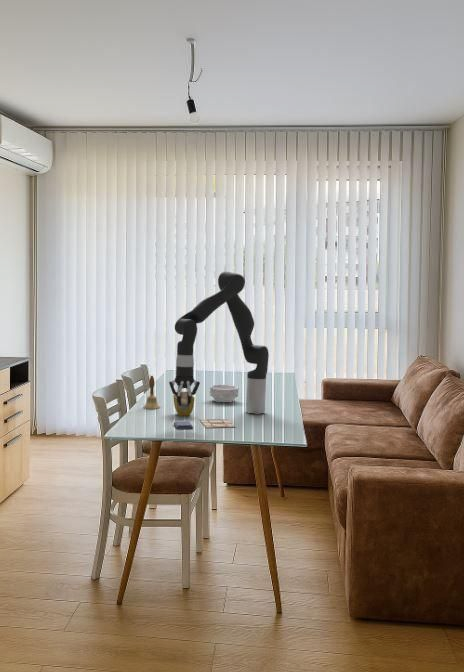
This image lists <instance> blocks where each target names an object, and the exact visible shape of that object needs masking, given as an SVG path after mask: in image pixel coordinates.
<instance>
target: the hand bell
mask: <svg viewBox="0 0 464 672" xmlns="http://www.w3.org/2000/svg"><path fill="white" fill-rule="evenodd" d="M149 377H150V378H149V381H148V383H149V388H150V390H149V393H150V395H149V396H147V399H146V403H145V404H144V405H143V409H145V408H146V410H159V409H161V406H160V405H159V403H158V401H157V396H155V395H154V394H155V393H154V387H155V377H154V375H150V376H149Z"/></svg>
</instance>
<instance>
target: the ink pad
mask: <svg viewBox="0 0 464 672" xmlns="http://www.w3.org/2000/svg"><path fill="white" fill-rule="evenodd" d="M173 425H174V427H175V429H176V430H193V429H194V426H193V425H192V423H191V421H188V420H187V421H186V420H185V421H183V420H179V421H176V420H175V421H174V422H173Z"/></svg>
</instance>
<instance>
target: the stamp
mask: <svg viewBox="0 0 464 672" xmlns="http://www.w3.org/2000/svg"><path fill="white" fill-rule="evenodd" d="M180 396H181V404H180V405H179V404H178V408H179V409H189V408H190V404H189V405H188V392H187V390H186V391H181V394H180Z"/></svg>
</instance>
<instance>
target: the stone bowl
mask: <svg viewBox="0 0 464 672" xmlns="http://www.w3.org/2000/svg"><path fill="white" fill-rule="evenodd" d="M209 387H210V388H209V396H210V397H212V398H213V401H215V402H216V403H220V402H230V403H233V402H234V401H235V399H236V398H239V390H240V389H239V387H238V386H235V385H232V384H231V385H230V384H213V385H211V386H209ZM232 401H233V402H232Z"/></svg>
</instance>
